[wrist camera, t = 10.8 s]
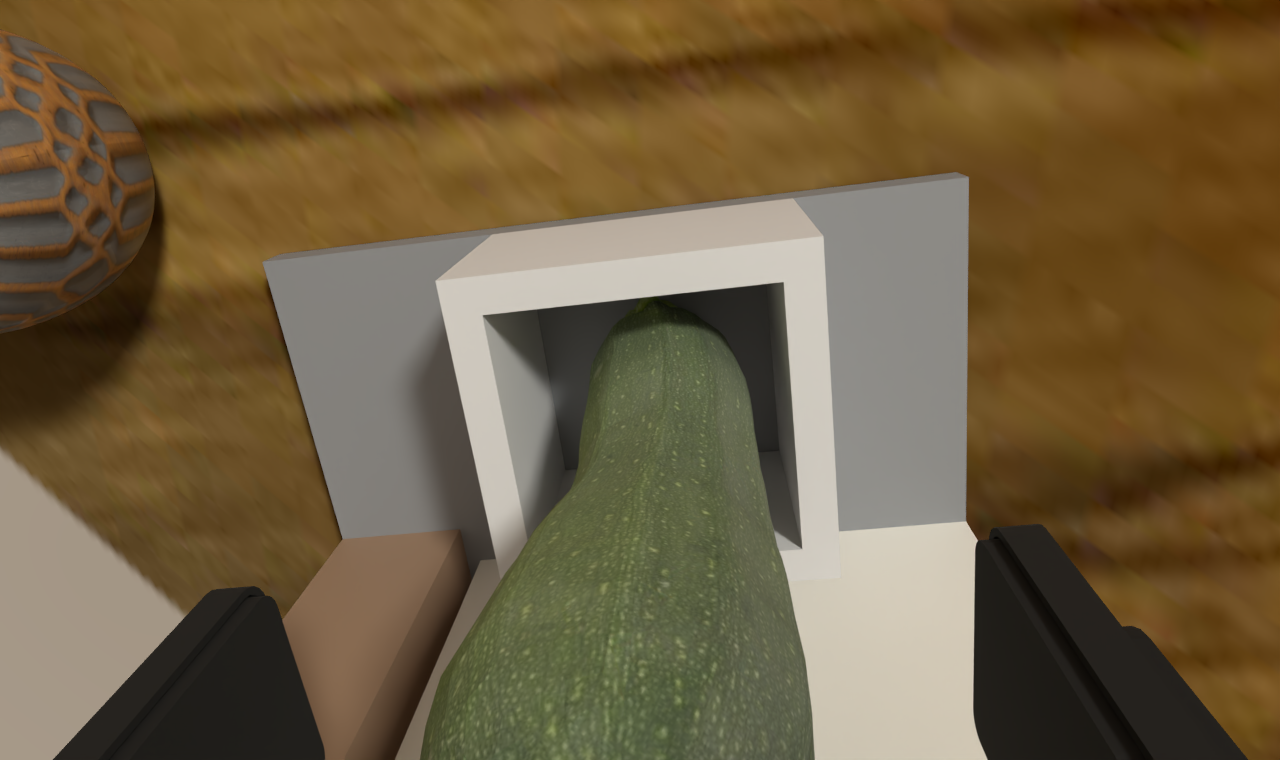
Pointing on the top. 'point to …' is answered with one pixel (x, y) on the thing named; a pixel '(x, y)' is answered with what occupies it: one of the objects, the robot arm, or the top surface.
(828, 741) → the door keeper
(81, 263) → the vase
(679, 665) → the vegetable
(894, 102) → the top surface
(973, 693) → the robot arm
